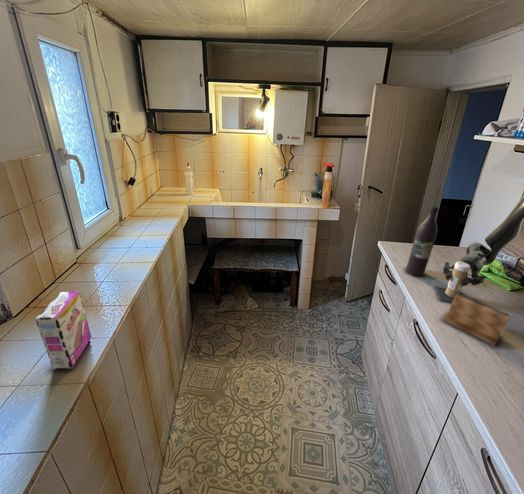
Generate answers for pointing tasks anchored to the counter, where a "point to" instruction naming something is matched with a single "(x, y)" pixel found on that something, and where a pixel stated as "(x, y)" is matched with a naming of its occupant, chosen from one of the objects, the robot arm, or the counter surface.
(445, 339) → the counter surface
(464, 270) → the sprinkles bottle
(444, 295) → the mat
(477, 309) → the magnetic knife rack
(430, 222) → the wine bottle
